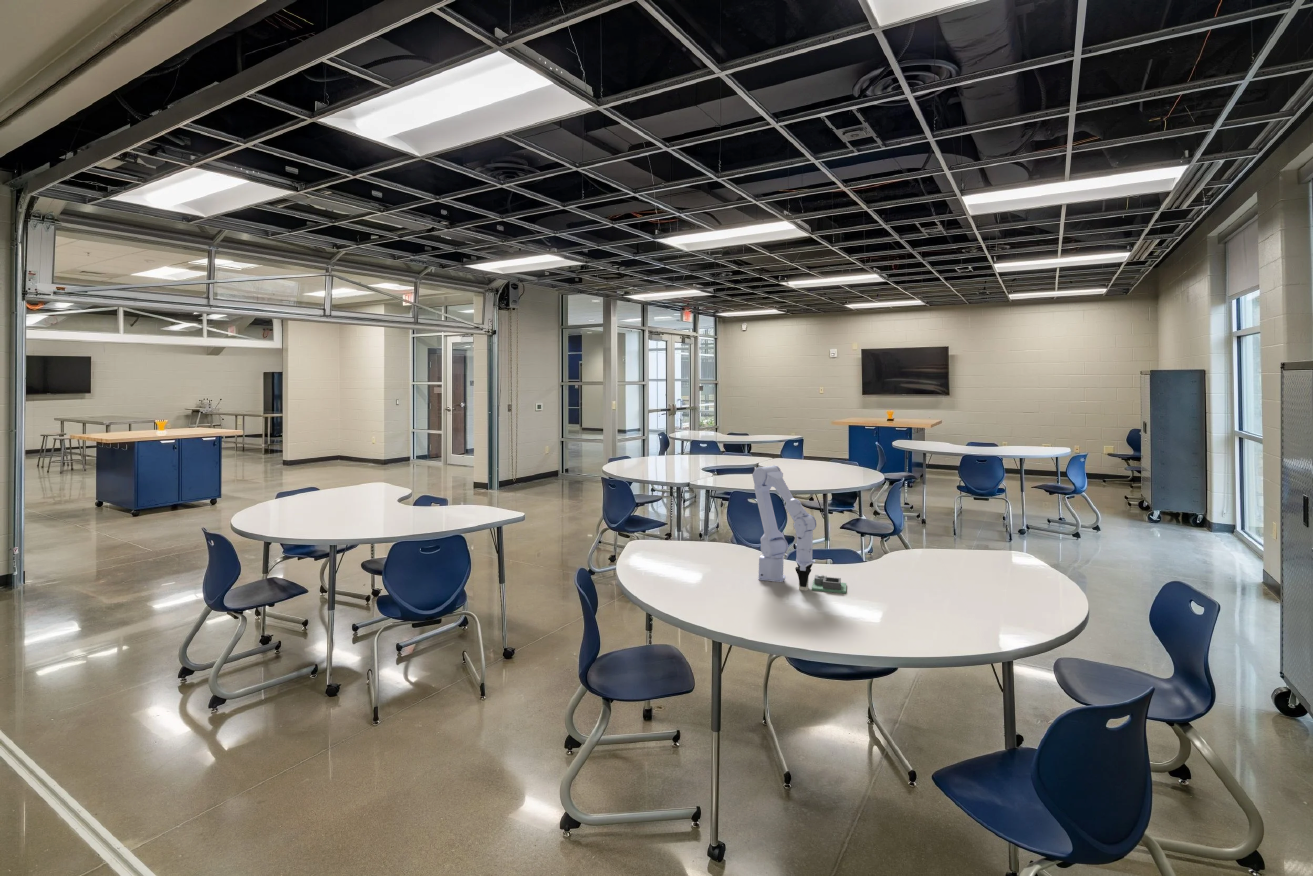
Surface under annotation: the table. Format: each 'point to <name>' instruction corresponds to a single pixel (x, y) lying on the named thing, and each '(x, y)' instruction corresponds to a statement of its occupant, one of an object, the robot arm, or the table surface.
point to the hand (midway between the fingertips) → (803, 584)
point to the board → (828, 584)
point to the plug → (804, 587)
